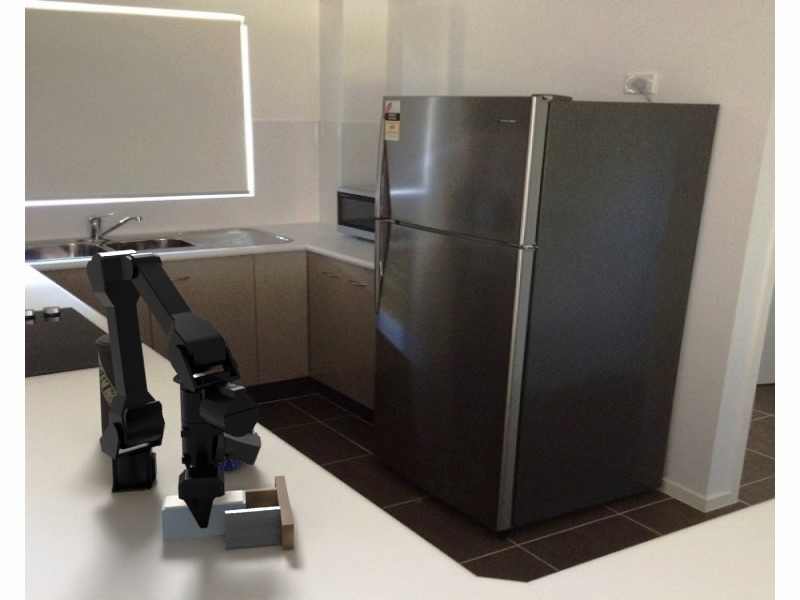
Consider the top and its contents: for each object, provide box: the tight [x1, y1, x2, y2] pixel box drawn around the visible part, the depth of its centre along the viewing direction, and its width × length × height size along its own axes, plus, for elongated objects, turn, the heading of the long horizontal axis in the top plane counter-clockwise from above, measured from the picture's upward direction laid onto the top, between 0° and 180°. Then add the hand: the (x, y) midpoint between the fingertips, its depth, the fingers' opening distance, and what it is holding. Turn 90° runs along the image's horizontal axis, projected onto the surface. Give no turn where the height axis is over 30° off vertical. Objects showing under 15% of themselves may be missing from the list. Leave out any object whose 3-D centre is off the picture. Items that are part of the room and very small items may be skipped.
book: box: [161, 489, 246, 541], centre depth 114 cm, size 12×4×5 cm, turn 103°
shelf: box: [225, 475, 295, 551], centre depth 116 cm, size 10×16×4 cm, turn 13°
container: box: [94, 333, 144, 436], centre depth 148 cm, size 9×9×20 cm
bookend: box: [224, 506, 282, 551], centre depth 111 cm, size 8×3×4 cm, turn 103°
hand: (204, 514), depth 114 cm, fingers open, 8 cm apart
